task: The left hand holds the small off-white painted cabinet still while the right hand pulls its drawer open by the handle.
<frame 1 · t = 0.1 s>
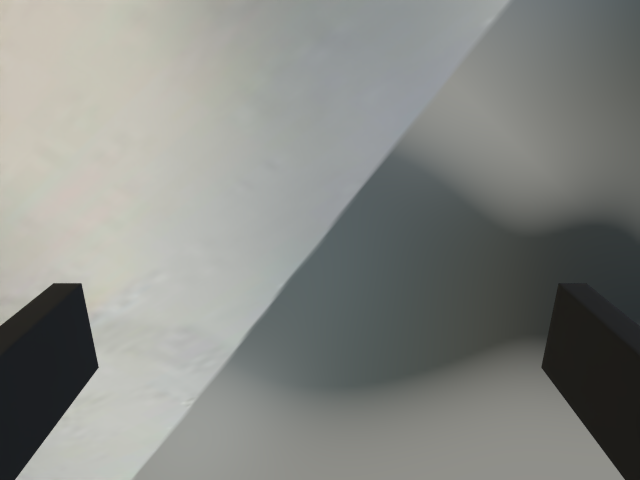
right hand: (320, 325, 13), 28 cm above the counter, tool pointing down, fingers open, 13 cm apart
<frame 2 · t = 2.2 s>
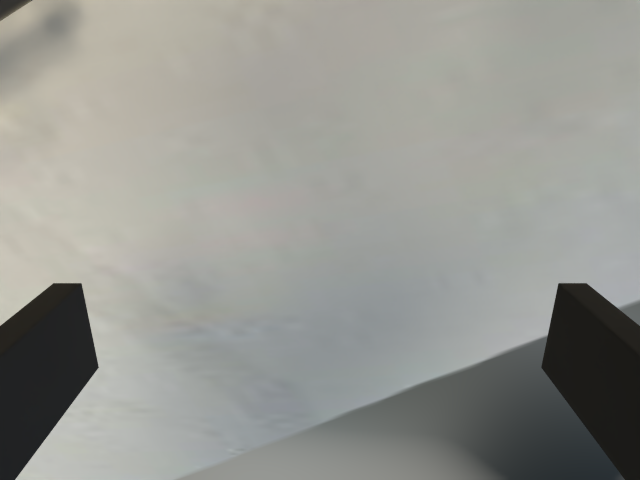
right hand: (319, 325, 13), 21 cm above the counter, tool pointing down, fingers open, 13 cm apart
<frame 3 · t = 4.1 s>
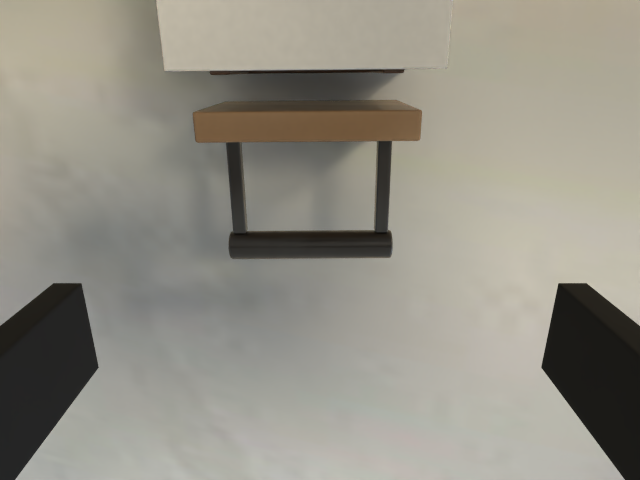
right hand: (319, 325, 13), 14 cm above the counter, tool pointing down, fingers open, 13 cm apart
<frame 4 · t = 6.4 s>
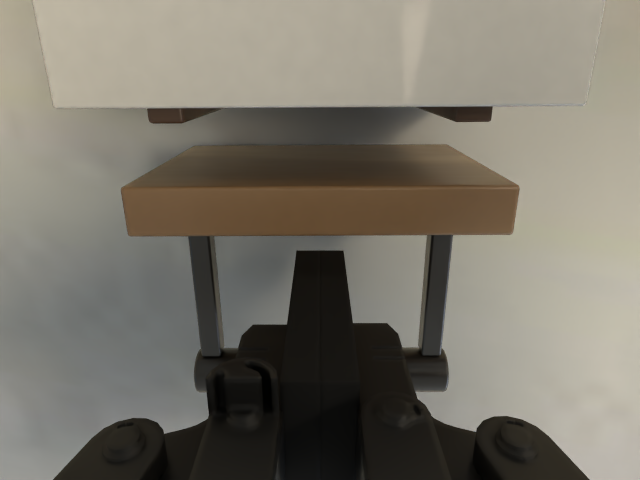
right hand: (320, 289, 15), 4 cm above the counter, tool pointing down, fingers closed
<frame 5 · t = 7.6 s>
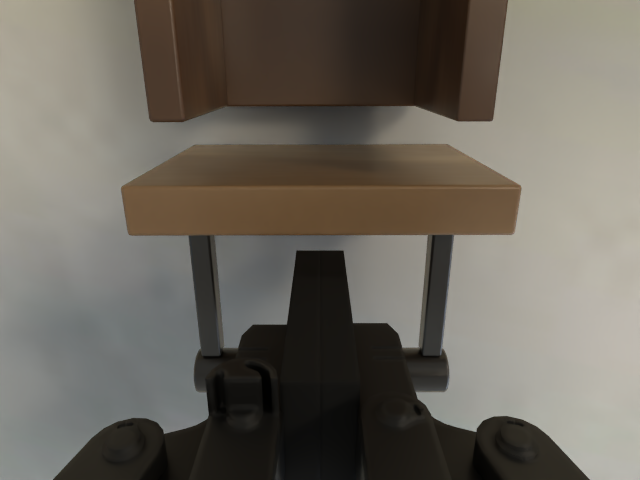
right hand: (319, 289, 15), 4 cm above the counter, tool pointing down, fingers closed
when the left hand's fingers open (3 cm above the counter, at t = 9.5 s): cabinet stays where it is, on the counter.
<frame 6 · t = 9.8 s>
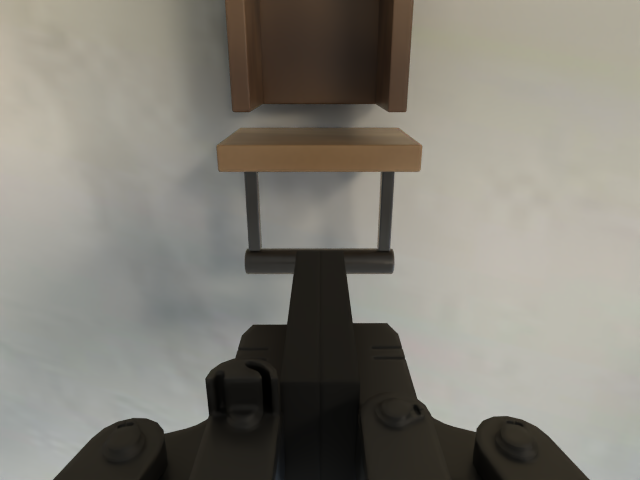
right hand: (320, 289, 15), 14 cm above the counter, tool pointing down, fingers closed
drawer: (319, 23, 21), point 4 cm above the counter, slide at 9.8 cm
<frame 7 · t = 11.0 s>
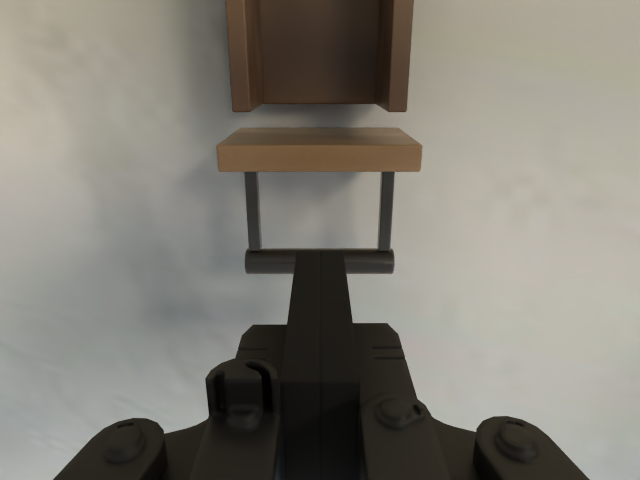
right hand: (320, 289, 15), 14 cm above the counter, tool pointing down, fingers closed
drawer: (319, 23, 21), point 4 cm above the counter, slide at 9.8 cm
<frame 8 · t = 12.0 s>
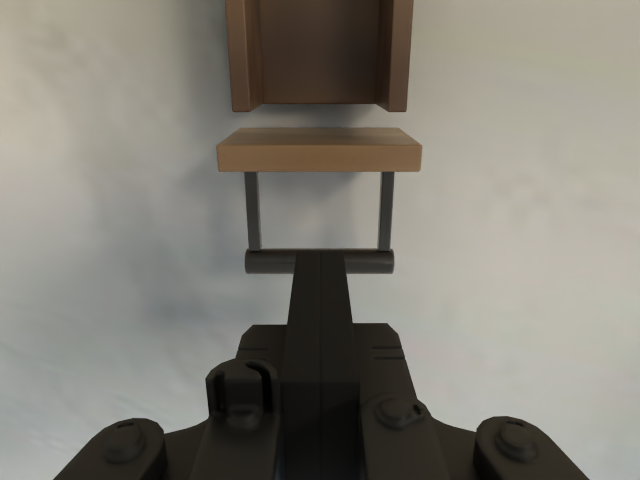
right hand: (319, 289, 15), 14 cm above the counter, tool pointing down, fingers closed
drawer: (319, 23, 21), point 4 cm above the counter, slide at 9.8 cm
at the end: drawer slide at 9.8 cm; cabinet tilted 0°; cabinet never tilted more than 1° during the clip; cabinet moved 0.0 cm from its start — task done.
